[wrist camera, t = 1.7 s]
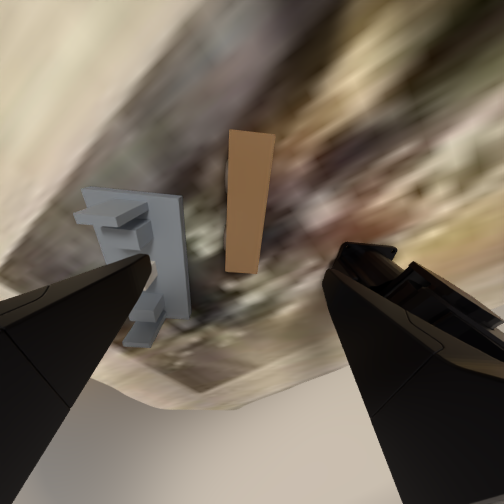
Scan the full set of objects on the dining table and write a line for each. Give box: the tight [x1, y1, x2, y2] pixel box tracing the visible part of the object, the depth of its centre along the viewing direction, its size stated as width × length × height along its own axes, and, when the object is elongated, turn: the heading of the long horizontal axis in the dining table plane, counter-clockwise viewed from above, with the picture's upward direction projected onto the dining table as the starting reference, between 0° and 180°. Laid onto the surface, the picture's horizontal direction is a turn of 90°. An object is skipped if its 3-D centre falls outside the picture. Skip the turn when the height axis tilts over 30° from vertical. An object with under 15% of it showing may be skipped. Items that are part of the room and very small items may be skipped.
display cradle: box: [73, 186, 192, 348], centre depth 20 cm, size 9×17×6 cm, turn 174°
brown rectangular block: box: [224, 129, 276, 274], centre depth 18 cm, size 13×4×3 cm, turn 175°
